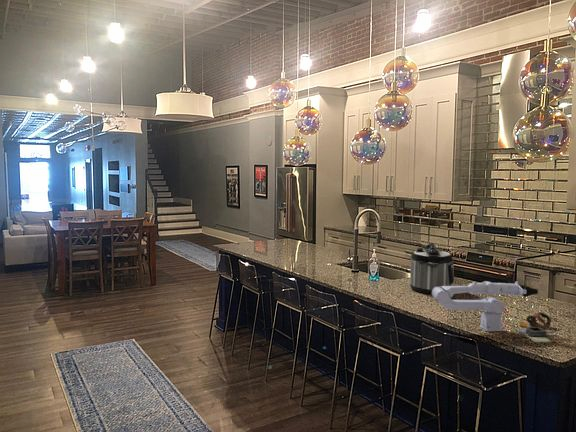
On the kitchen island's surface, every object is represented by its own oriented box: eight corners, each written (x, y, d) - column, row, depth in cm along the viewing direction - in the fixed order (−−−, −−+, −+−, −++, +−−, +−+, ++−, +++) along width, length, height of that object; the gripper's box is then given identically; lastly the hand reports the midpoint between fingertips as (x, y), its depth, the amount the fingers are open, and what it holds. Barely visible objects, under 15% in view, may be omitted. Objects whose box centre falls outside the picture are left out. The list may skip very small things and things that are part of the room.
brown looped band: (538, 323, 257) (547, 312, 253) (547, 336, 249) (556, 325, 245) (519, 318, 255) (528, 307, 251) (527, 331, 247) (536, 320, 243)
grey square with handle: (532, 337, 234) (532, 331, 233) (524, 332, 240) (524, 327, 240) (557, 337, 235) (558, 331, 234) (549, 332, 242) (549, 326, 241)
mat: (534, 342, 227) (534, 341, 227) (528, 338, 232) (528, 337, 232) (550, 341, 228) (551, 341, 228) (544, 338, 233) (544, 337, 233)
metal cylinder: (521, 337, 234) (521, 323, 233) (517, 335, 237) (518, 321, 236) (527, 337, 234) (528, 323, 233) (523, 335, 237) (524, 321, 236)
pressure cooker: (438, 298, 305) (440, 249, 302) (400, 289, 325) (401, 243, 322) (461, 289, 326) (462, 243, 322) (423, 282, 346) (425, 239, 343)
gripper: (514, 283, 237) (541, 284, 237) (501, 279, 252) (526, 280, 252) (513, 297, 237) (540, 298, 237) (500, 292, 252) (526, 293, 252)
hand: (533, 290), depth 244 cm, fingers open, 7 cm apart
